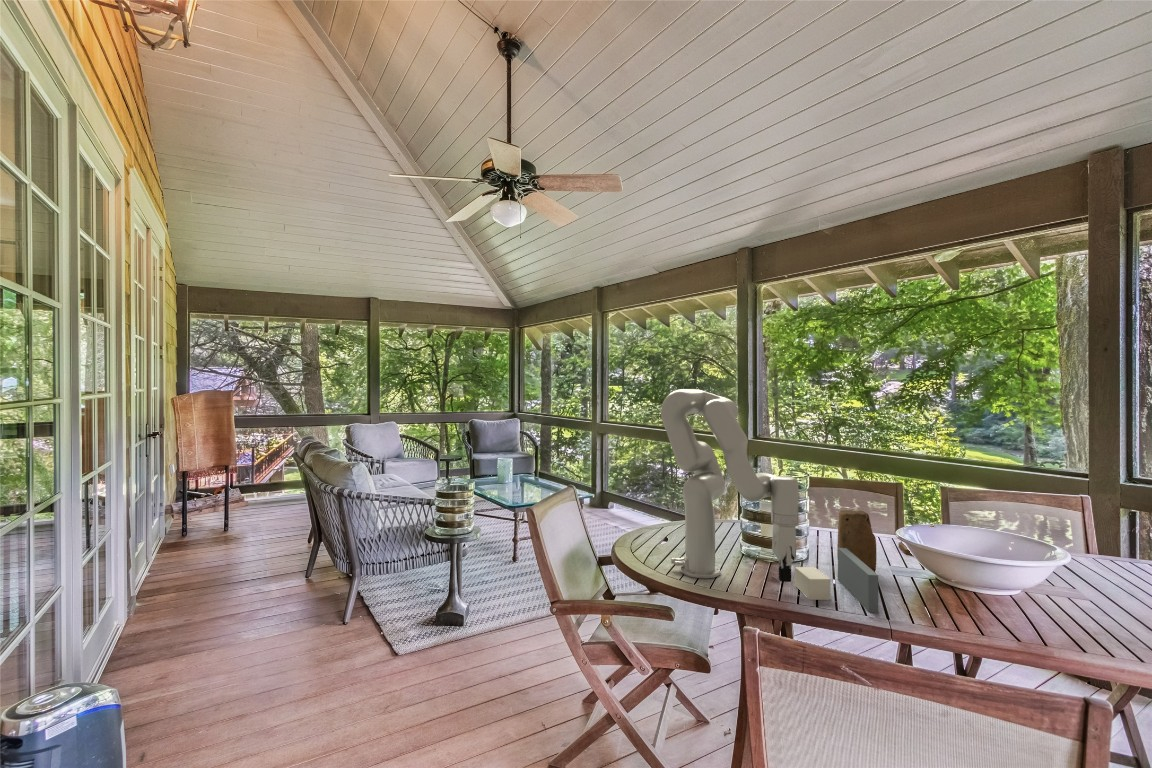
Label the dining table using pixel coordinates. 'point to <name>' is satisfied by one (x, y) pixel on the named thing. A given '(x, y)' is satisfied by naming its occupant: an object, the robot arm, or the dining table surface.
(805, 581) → the cream block
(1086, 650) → the dining table surface
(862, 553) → the block
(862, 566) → the slate board
